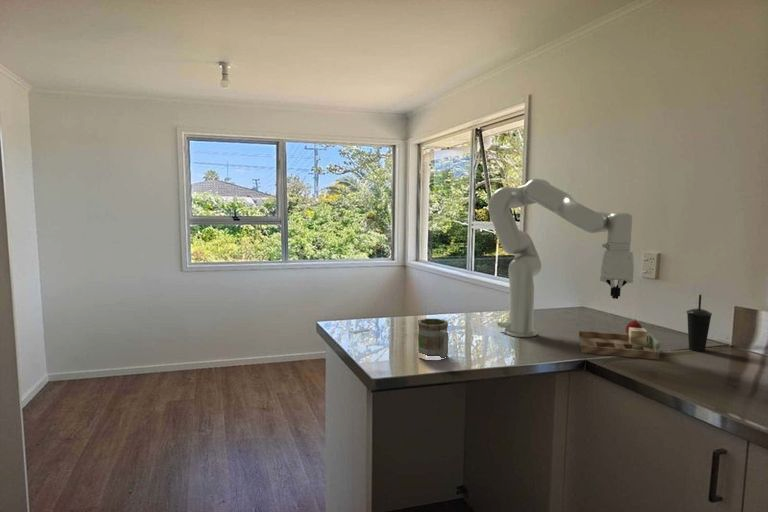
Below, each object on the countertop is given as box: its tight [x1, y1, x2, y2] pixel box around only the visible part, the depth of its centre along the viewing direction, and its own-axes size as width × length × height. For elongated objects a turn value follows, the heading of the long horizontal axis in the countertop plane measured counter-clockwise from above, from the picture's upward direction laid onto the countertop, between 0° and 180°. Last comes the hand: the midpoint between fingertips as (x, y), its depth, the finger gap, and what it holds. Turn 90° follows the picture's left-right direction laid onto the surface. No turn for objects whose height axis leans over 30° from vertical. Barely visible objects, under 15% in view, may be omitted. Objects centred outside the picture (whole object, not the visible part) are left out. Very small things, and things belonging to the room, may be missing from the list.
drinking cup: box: [685, 294, 713, 352], centre depth 167 cm, size 8×8×20 cm
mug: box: [417, 318, 450, 358], centre depth 159 cm, size 16×11×12 cm
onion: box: [625, 318, 643, 334], centre depth 182 cm, size 6×6×8 cm
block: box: [628, 327, 648, 346], centre depth 168 cm, size 5×5×5 cm
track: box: [578, 330, 661, 360], centre depth 167 cm, size 24×14×6 cm, turn 71°
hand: (615, 298), depth 169 cm, fingers closed
